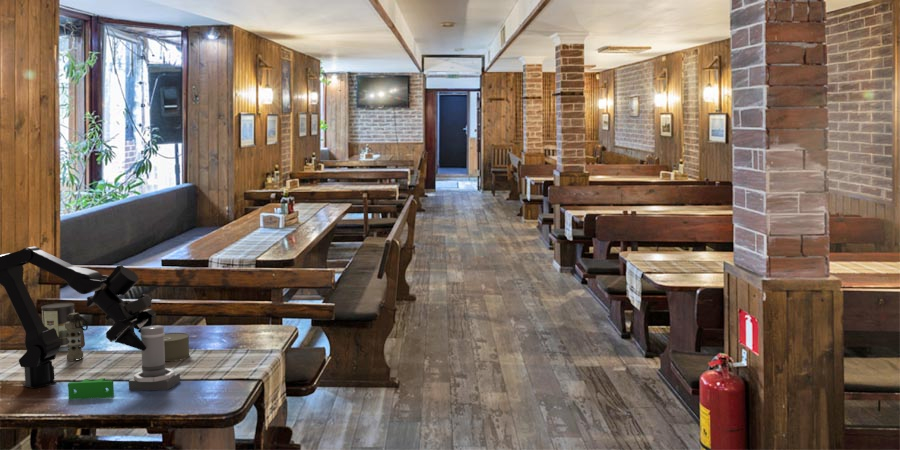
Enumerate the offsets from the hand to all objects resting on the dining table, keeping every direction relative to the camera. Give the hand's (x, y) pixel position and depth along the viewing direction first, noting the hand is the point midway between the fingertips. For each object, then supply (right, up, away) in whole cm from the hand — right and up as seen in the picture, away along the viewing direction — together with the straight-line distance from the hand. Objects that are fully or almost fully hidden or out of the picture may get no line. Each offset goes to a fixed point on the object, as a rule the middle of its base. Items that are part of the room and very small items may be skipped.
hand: (153, 345), depth 204 cm
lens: (0, -9, +1) cm, 9 cm away
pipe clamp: (-13, -13, -8) cm, 20 cm away
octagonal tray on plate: (0, -11, +1) cm, 12 cm away
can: (-7, -9, +32) cm, 34 cm away
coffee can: (-54, -8, +51) cm, 74 cm away
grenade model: (-37, -10, +31) cm, 49 cm away
